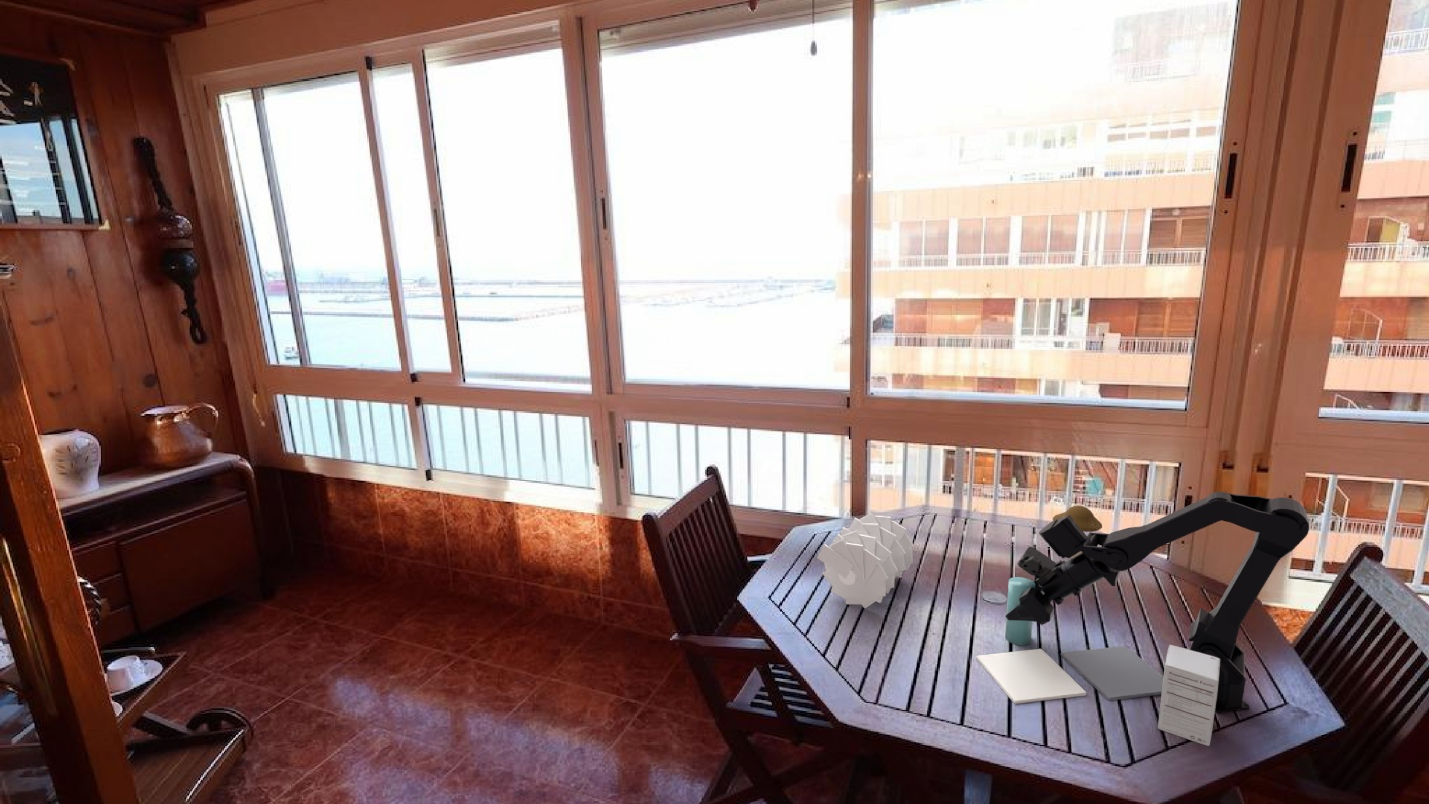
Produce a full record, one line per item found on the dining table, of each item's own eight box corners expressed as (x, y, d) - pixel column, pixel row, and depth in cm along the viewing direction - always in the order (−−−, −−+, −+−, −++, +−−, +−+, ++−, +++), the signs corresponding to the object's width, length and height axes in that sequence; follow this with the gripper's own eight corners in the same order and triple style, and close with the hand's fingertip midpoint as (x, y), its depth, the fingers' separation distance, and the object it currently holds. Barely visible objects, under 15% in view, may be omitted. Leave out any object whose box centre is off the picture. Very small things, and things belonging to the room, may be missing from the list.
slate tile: (1179, 692, 121) (1179, 689, 121) (1108, 700, 120) (1109, 697, 120) (1124, 648, 135) (1125, 645, 135) (1060, 655, 134) (1061, 652, 133)
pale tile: (1086, 695, 122) (1086, 692, 121) (1014, 703, 120) (1014, 700, 120) (1041, 651, 135) (1041, 648, 135) (976, 658, 134) (976, 655, 134)
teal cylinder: (1036, 644, 138) (1040, 587, 135) (1013, 646, 137) (1017, 589, 134) (1022, 631, 142) (1026, 576, 140) (1000, 633, 142) (1003, 578, 139)
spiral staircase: (899, 587, 171) (863, 630, 150) (842, 547, 178) (801, 582, 158) (932, 533, 164) (900, 570, 143) (872, 493, 171) (833, 523, 150)
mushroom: (1053, 548, 180) (1057, 496, 177) (1101, 557, 174) (1106, 504, 170) (1046, 561, 173) (1050, 507, 170) (1096, 571, 166) (1101, 516, 163)
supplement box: (1161, 705, 118) (1169, 642, 115) (1212, 722, 113) (1222, 657, 111) (1155, 729, 113) (1164, 663, 110) (1209, 748, 108) (1219, 680, 105)
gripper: (1056, 525, 139) (999, 559, 148) (1034, 558, 125) (972, 594, 134) (1095, 569, 136) (1034, 601, 145) (1077, 608, 122) (1011, 641, 131)
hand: (1013, 608), depth 139 cm, fingers open, 9 cm apart
